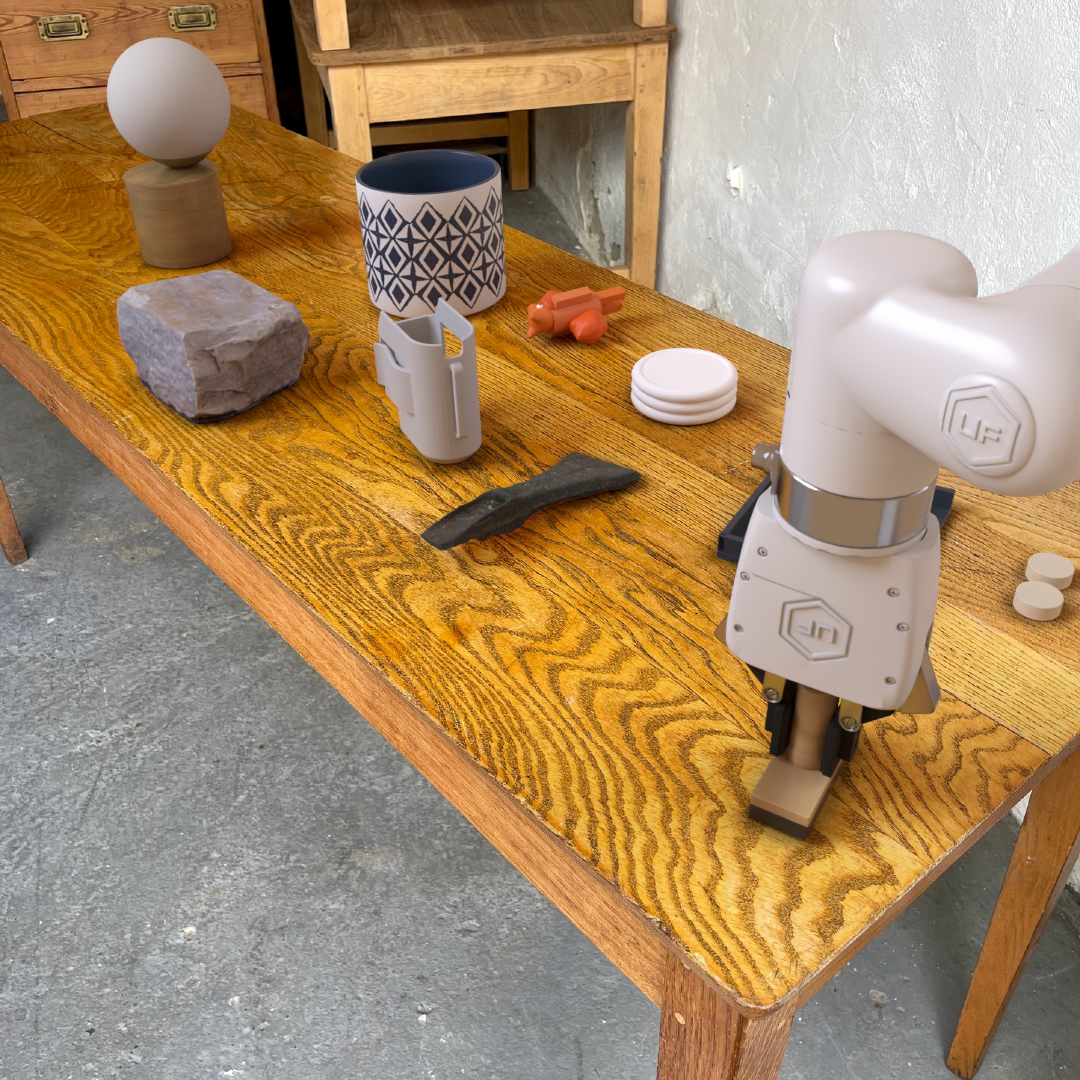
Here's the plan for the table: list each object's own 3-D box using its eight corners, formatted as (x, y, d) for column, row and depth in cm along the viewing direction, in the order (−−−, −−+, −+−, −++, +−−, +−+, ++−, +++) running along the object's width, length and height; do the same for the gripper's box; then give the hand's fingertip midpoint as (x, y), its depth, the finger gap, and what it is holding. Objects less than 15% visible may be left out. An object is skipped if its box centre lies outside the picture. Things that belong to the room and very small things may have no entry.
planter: (527, 307, 125) (522, 180, 117) (392, 334, 120) (377, 203, 112) (479, 260, 137) (471, 141, 129) (354, 282, 132) (338, 161, 124)
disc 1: (1073, 571, 83) (1077, 558, 82) (1067, 595, 81) (1071, 582, 80) (1028, 560, 84) (1032, 547, 83) (1021, 583, 82) (1025, 570, 81)
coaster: (659, 436, 101) (661, 402, 99) (613, 389, 108) (614, 357, 106) (755, 414, 104) (758, 380, 102) (704, 370, 111) (706, 338, 109)
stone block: (333, 298, 108) (195, 313, 97) (330, 411, 112) (198, 437, 102) (237, 264, 117) (102, 274, 107) (238, 369, 122) (109, 388, 112)
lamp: (190, 222, 151) (148, 23, 137) (276, 234, 147) (242, 30, 132) (114, 261, 140) (59, 49, 126) (205, 275, 135) (159, 57, 121)
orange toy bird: (612, 264, 119) (516, 289, 115) (649, 307, 116) (551, 335, 111) (604, 301, 123) (510, 326, 119) (639, 343, 120) (544, 371, 115)
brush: (856, 741, 69) (875, 644, 64) (805, 842, 63) (822, 742, 58) (802, 721, 70) (818, 625, 66) (747, 817, 64) (760, 719, 60)
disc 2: (1063, 601, 80) (1068, 588, 79) (1055, 626, 78) (1059, 613, 77) (1017, 588, 81) (1021, 575, 81) (1008, 612, 79) (1011, 599, 78)
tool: (579, 465, 100) (579, 433, 98) (646, 489, 95) (647, 456, 93) (402, 546, 86) (399, 511, 85) (469, 580, 82) (467, 543, 80)
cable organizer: (442, 405, 107) (431, 287, 100) (497, 463, 98) (490, 338, 91) (377, 422, 104) (362, 303, 97) (428, 483, 95) (415, 357, 88)
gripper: (671, 482, 55) (657, 741, 66) (1004, 579, 48) (927, 851, 59) (731, 417, 61) (709, 667, 71) (1040, 497, 54) (963, 761, 64)
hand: (808, 749), depth 65 cm, fingers closed on brush, 2 cm apart
